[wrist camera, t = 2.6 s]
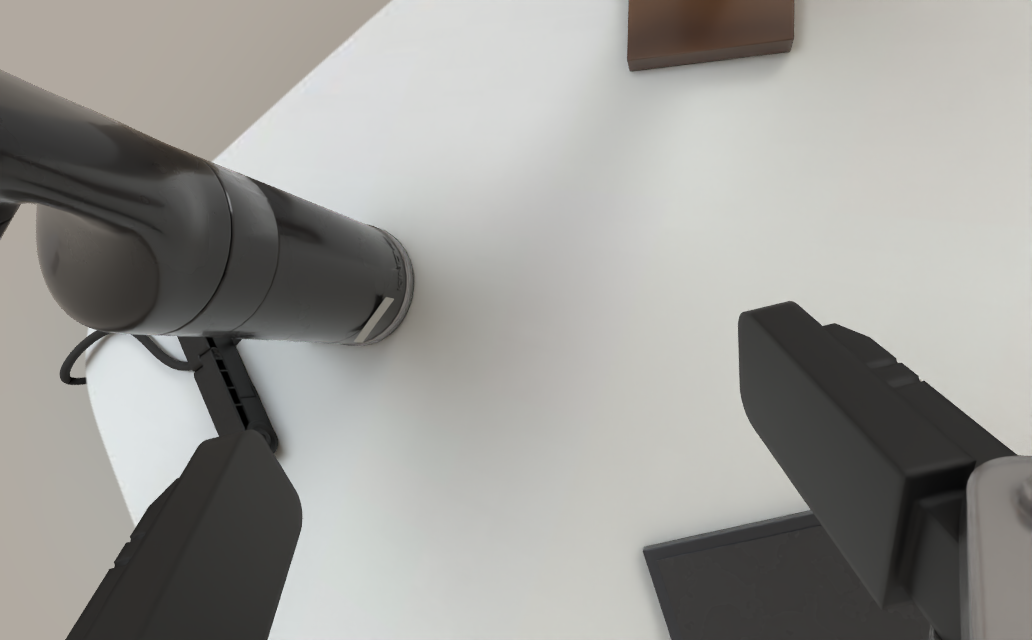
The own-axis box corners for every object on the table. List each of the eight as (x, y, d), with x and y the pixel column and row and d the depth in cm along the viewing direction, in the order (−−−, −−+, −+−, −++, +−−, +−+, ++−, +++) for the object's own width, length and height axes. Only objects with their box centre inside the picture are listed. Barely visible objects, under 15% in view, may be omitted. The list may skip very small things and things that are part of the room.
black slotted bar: (284, 451, 45) (256, 457, 42) (261, 466, 45) (232, 473, 43) (203, 269, 49) (173, 263, 46) (184, 285, 49) (152, 280, 47)
